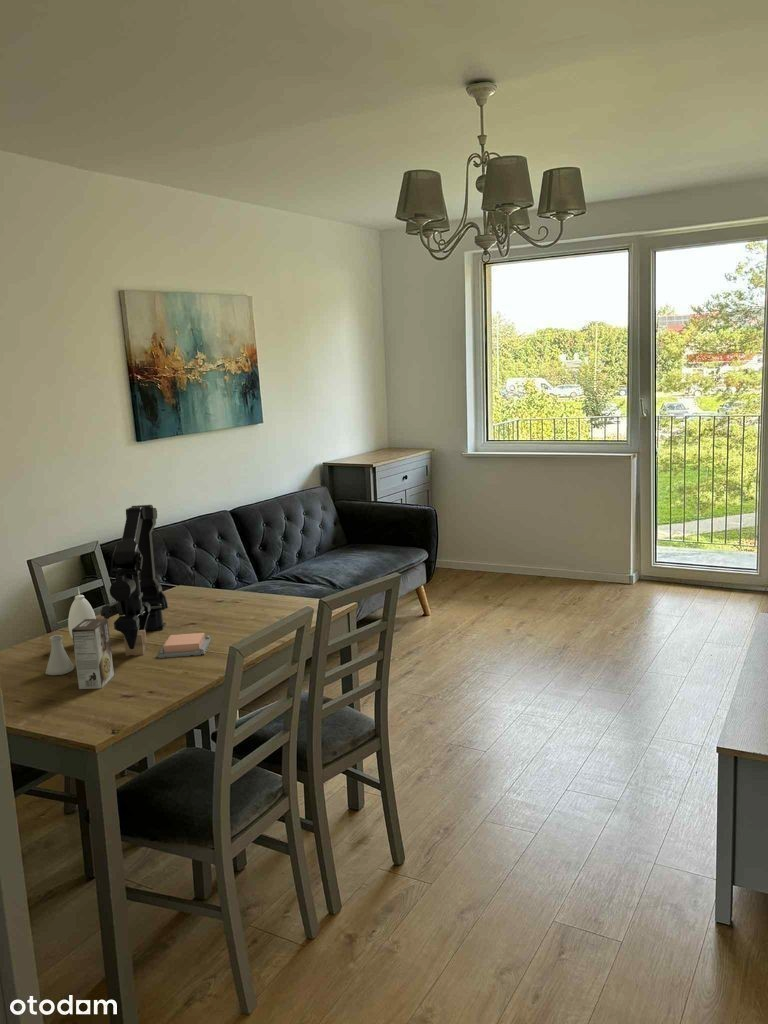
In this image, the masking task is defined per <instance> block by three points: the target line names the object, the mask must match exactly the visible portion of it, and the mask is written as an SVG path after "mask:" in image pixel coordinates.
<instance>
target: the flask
mask: <svg viewBox="0 0 768 1024" xmlns="http://www.w3.org/2000/svg"><path fill="white" fill-rule="evenodd" d="M49 640H50V644H51V645H50V646H51V647H50V653H49V658H48V662H47V666H46V670H45V675H47V676H48V675H49V676H60V675H65V674H68V673H71V672H72V671H73V670H74V669H75V665H74V664H73V662H72V661H71V659H70V657H69V655H68V653H67V651H66V649H65V647H64V645H63V634H62V635H61V634H55V635H51V636H50V637H49Z"/></svg>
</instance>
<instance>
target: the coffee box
mask: <svg viewBox="0 0 768 1024" xmlns="http://www.w3.org/2000/svg"><path fill="white" fill-rule="evenodd" d="M108 620H109V619H105V618H96V619H85V620H83V621H82V622H81V623H80V624H78V625H77V626H76V627H75V628H73V629H72V635H73V639H72V641H73V642H72V644H73V651H74V658H75V659H74V660H75V667H76V675H77V684H78V689H79V690H87V689H89V690H92V689H103V688H104V687H105V686H106V685H107V684H108V682H110V681H111V679H113V677H114V676H115V671H114V663H113V655H112V647H111V645H112V644H111V638H110V629H109V624H108V623H109V622H108Z"/></svg>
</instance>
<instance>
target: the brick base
mask: <svg viewBox="0 0 768 1024" xmlns="http://www.w3.org/2000/svg"><path fill="white" fill-rule="evenodd" d="M210 641H211V642H212V638H211V637H210V635H205V632H198V633H197V632H196V633H195V632H193V633H182V634H170V635H169V637H168V638H166V641H165V642H164V644H163V645H162V648H161V649H160V651H158V653H157V658H158V659H163V658H164V659H165V657H166V658H177V657H178V656H179V658H180V657H191V656H190V655H194V656H202V655H201V654H205V655H206V652H207V650H208V648H209V646H210V644H209V643H211V642H210ZM208 645H209V646H208ZM207 647H208V648H207ZM206 649H207V650H206ZM205 651H206V652H205Z"/></svg>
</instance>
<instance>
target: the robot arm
mask: <svg viewBox="0 0 768 1024" xmlns="http://www.w3.org/2000/svg"><path fill="white" fill-rule="evenodd" d="M153 506H154V505H152V504H142V505H140V504H139V505H131V507H128V508H125V522H124V523H125V524H124V528H123V533H122V538H121V541H120V542H119V543H118V544H116V545H115V548H114V551H113V553H111V560H110V562H111V563H110V574H109V575H110V577H115V581H114V582H113V583H112V584H111V585H110V588H109V595H110V596H111V597H112V598H113V599H114V600H116V601H114V602H111V603H107V604H105V605H102V607H101V609H100V617H103V619H107V620H109V619H110V618H111V617H114V616H116V615H118V618H117V619H115V621H114V622H113V628H114V630H116V631H117V632H119V633H121V634H122V635H123V637H124V636H125V639H126V641H127V643H128V646H129V648H130V649H134V647H135V643H136V639H137V635H138V631H139V630H145V631H146V632H147V631H161V630H164V629H165V626H167V622H164V617H163V611H165V610H167V609H168V608H169V603H168V599H167V596H166V595H165V592H164V591H163V587H162V584H161V583H160V582H159V580H158V579H157V578H156V568H155V557H154V544H153V534H152V533H153V530H154V528H155V526H156V524H157V519H158V510H157V508H156V507H153Z"/></svg>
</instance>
